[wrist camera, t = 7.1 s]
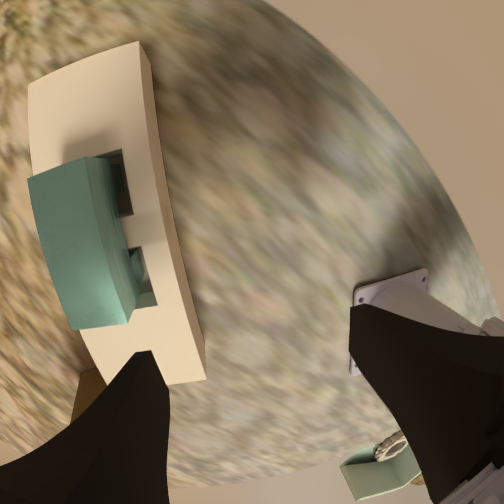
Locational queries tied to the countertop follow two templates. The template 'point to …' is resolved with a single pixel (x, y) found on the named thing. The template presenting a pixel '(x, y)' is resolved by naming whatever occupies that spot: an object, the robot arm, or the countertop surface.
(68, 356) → the countertop surface
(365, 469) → the right angle wall
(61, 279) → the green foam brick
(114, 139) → the rail
